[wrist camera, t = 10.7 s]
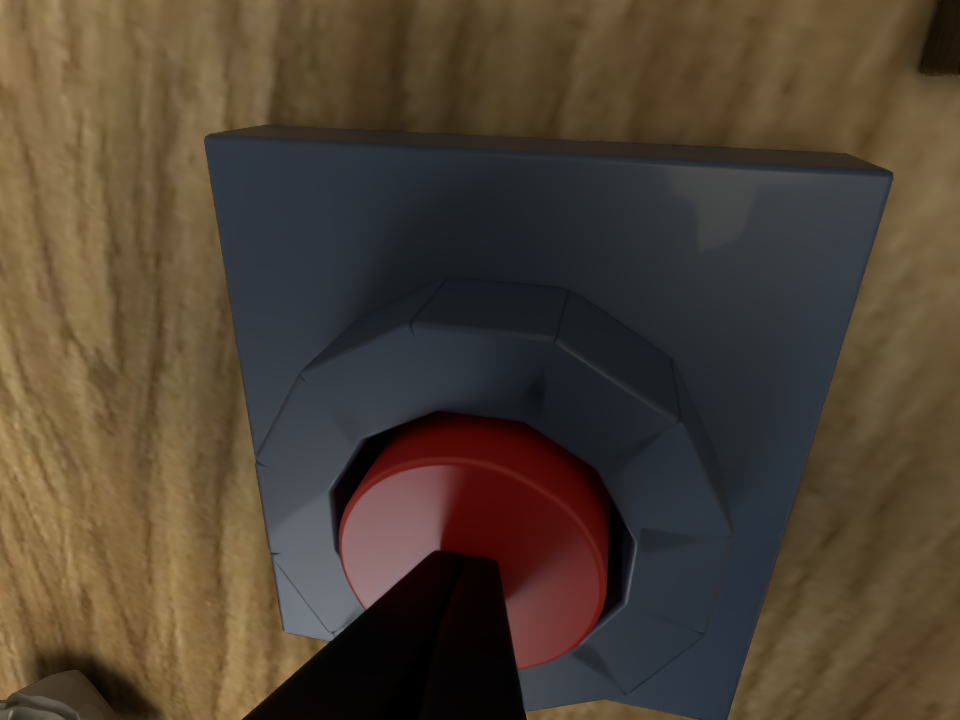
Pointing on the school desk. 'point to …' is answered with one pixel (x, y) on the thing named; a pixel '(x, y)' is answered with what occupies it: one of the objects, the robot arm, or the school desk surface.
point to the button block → (550, 356)
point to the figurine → (57, 700)
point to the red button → (486, 522)
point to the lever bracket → (944, 42)
